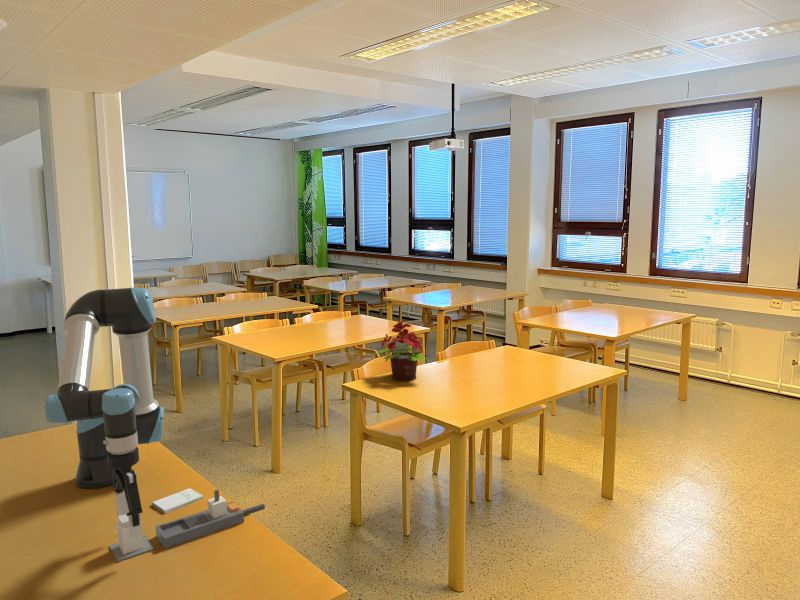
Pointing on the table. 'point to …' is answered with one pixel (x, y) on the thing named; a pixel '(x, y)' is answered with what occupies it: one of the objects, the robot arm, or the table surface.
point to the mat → (120, 556)
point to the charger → (127, 536)
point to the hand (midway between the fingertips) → (129, 525)
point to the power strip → (203, 522)
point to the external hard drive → (177, 500)
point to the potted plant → (403, 362)
